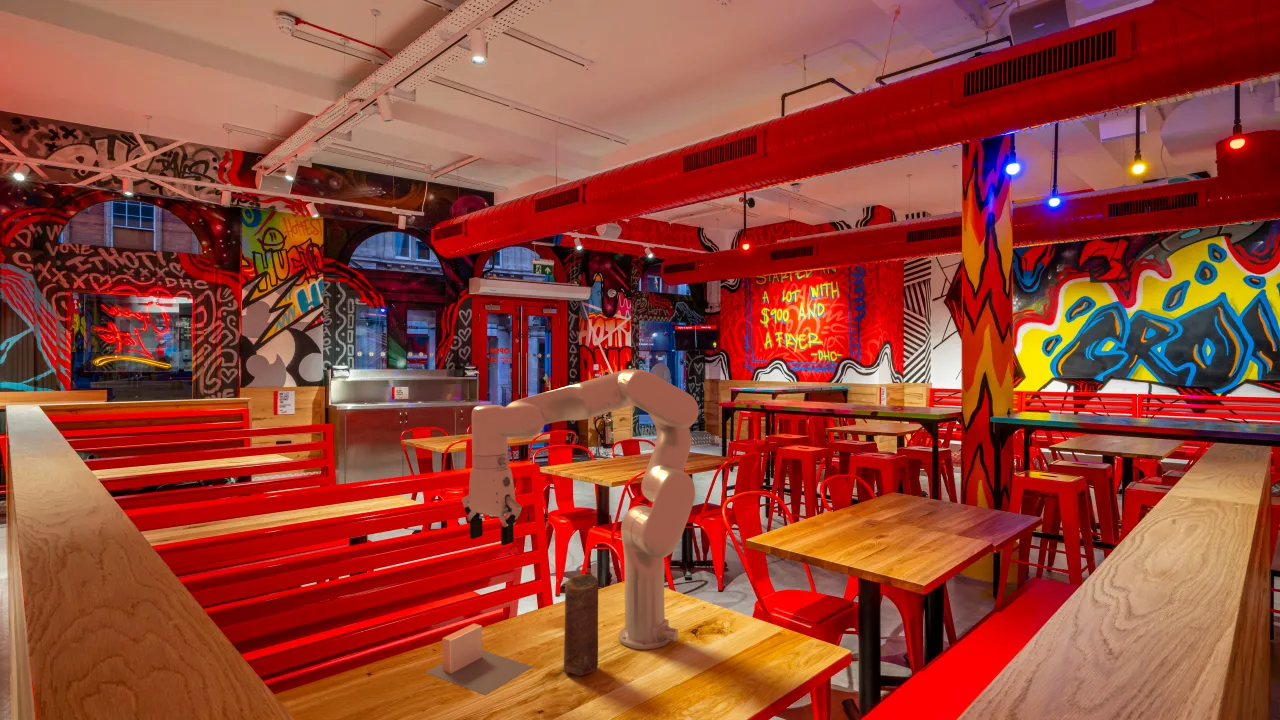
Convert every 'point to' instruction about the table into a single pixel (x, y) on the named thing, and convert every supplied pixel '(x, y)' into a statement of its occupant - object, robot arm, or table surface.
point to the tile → (462, 648)
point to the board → (483, 673)
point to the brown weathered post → (581, 624)
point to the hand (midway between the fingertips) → (491, 540)
